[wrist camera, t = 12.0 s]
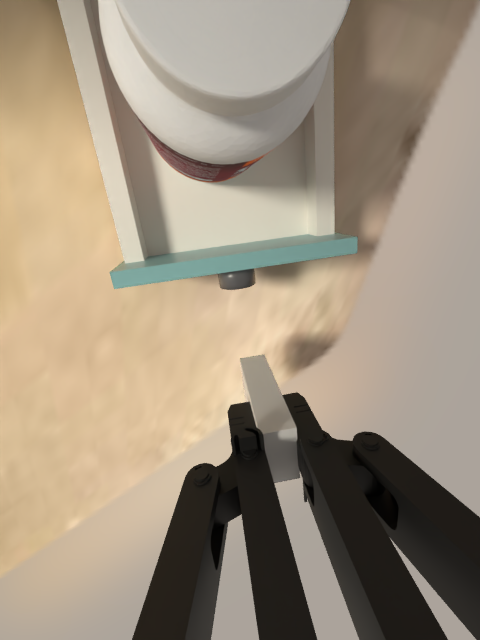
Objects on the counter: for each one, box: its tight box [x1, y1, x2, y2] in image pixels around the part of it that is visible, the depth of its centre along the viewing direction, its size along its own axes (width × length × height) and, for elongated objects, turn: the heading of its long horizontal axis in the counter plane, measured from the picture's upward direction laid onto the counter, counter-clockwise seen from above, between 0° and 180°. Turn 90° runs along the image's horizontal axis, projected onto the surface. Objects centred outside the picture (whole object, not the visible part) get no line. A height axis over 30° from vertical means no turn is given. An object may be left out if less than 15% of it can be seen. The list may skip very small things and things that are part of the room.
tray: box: [57, 0, 358, 290], centre depth 14 cm, size 18×12×4 cm, turn 7°
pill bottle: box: [98, 0, 351, 183], centre depth 10 cm, size 6×6×11 cm
